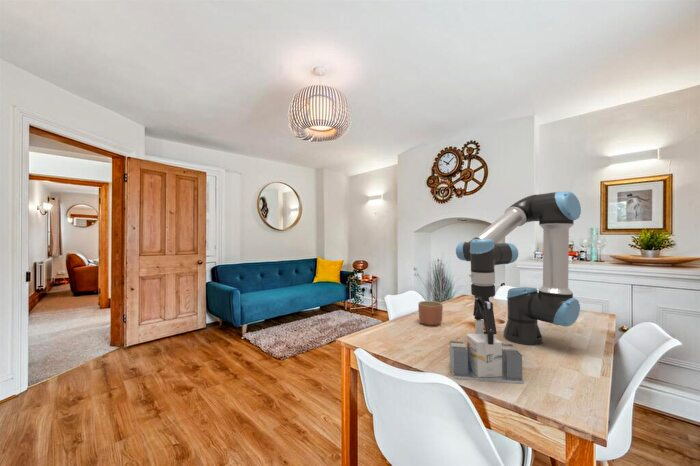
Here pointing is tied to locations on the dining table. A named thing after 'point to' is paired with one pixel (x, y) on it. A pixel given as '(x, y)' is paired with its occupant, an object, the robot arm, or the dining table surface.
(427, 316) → the planter
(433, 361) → the dining table surface
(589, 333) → the dining table surface
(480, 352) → the ink box
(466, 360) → the grey box holder
